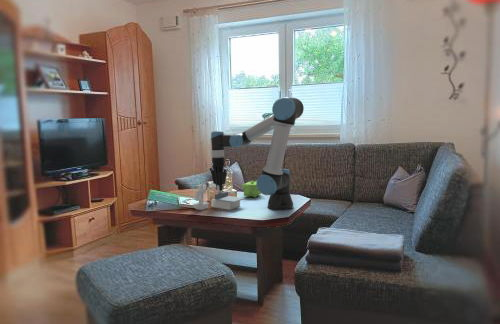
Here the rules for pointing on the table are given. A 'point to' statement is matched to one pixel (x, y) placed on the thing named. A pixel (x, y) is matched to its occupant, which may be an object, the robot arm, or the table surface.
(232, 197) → the lid
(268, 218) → the table surface
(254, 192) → the green lumpy block
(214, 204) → the mailer box
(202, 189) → the figurine
